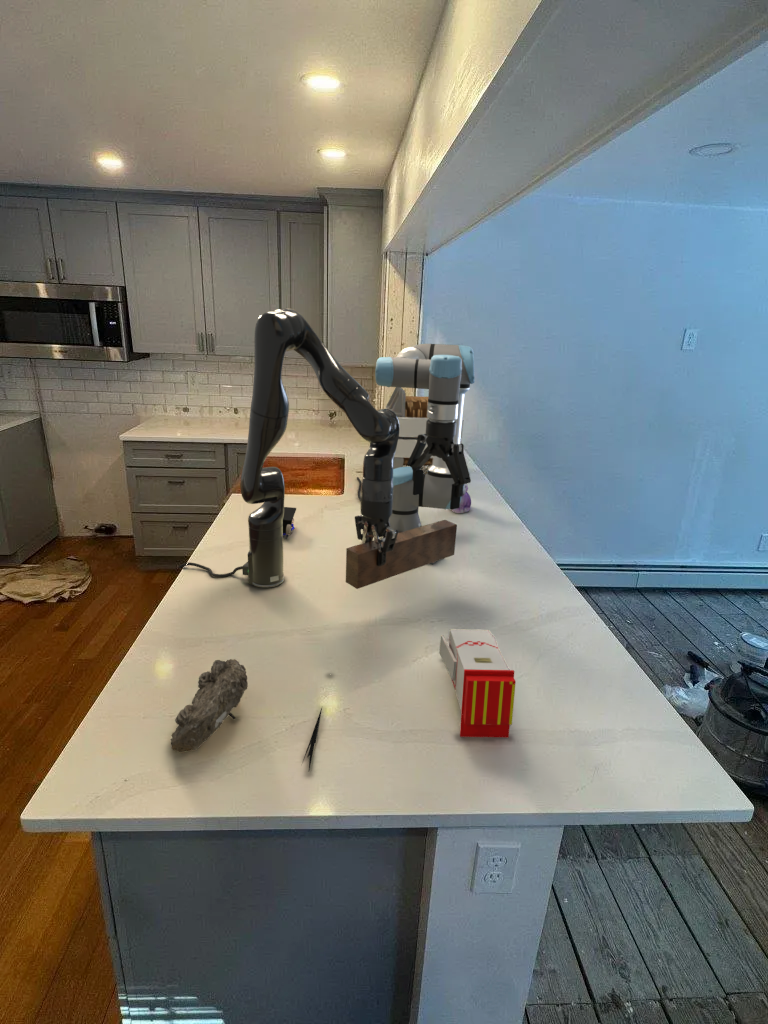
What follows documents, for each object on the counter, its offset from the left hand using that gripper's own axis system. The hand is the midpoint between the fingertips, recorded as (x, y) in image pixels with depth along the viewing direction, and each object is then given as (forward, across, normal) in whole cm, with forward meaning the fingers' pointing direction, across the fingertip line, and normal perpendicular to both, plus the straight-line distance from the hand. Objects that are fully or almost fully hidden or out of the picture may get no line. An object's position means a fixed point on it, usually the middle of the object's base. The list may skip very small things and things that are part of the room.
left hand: (374, 561), depth 139 cm
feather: (+16, +23, -32) cm, 42 cm away
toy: (+16, +35, -2) cm, 39 cm away
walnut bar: (+5, 0, +10) cm, 11 cm away
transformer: (+16, -92, +105) cm, 140 cm away
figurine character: (+16, -62, +12) cm, 65 cm away
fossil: (+16, +10, -47) cm, 51 cm away
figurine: (+16, -44, +82) cm, 94 cm away
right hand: (-12, 0, +20) cm, 23 cm away
